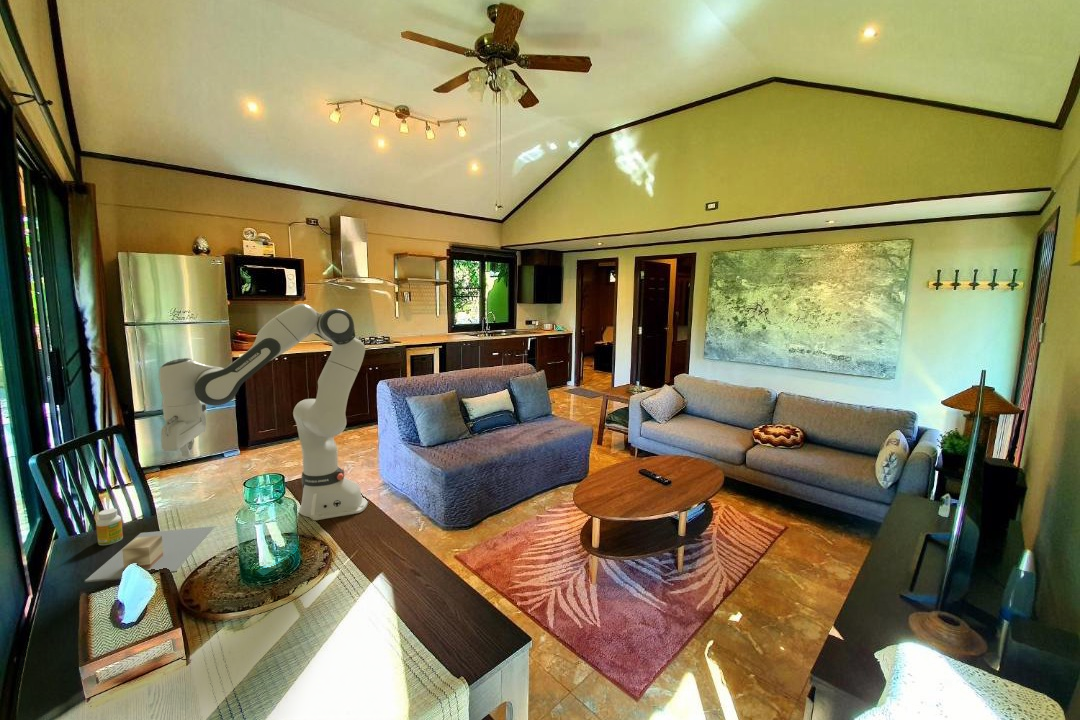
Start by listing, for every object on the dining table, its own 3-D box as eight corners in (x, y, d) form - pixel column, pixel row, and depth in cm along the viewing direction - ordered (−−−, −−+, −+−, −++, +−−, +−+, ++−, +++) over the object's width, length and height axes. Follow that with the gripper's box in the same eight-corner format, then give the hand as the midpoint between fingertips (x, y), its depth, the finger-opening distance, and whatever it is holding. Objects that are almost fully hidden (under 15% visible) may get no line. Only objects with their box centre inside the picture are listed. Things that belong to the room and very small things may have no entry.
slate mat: (215, 527, 142) (215, 526, 141) (176, 572, 119) (176, 570, 119) (140, 534, 136) (140, 532, 136) (84, 582, 113) (84, 580, 113)
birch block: (148, 547, 119) (150, 567, 119) (161, 535, 124) (163, 555, 125) (122, 549, 117) (124, 570, 118) (136, 537, 123) (138, 557, 124)
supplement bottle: (110, 547, 129) (107, 516, 128) (92, 546, 129) (89, 515, 128) (128, 537, 134) (125, 507, 133) (111, 536, 134) (107, 506, 133)
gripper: (177, 421, 124) (183, 467, 127) (208, 403, 144) (213, 443, 146) (151, 422, 123) (157, 469, 125) (186, 404, 142) (190, 444, 144)
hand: (187, 455), depth 136 cm, fingers closed
